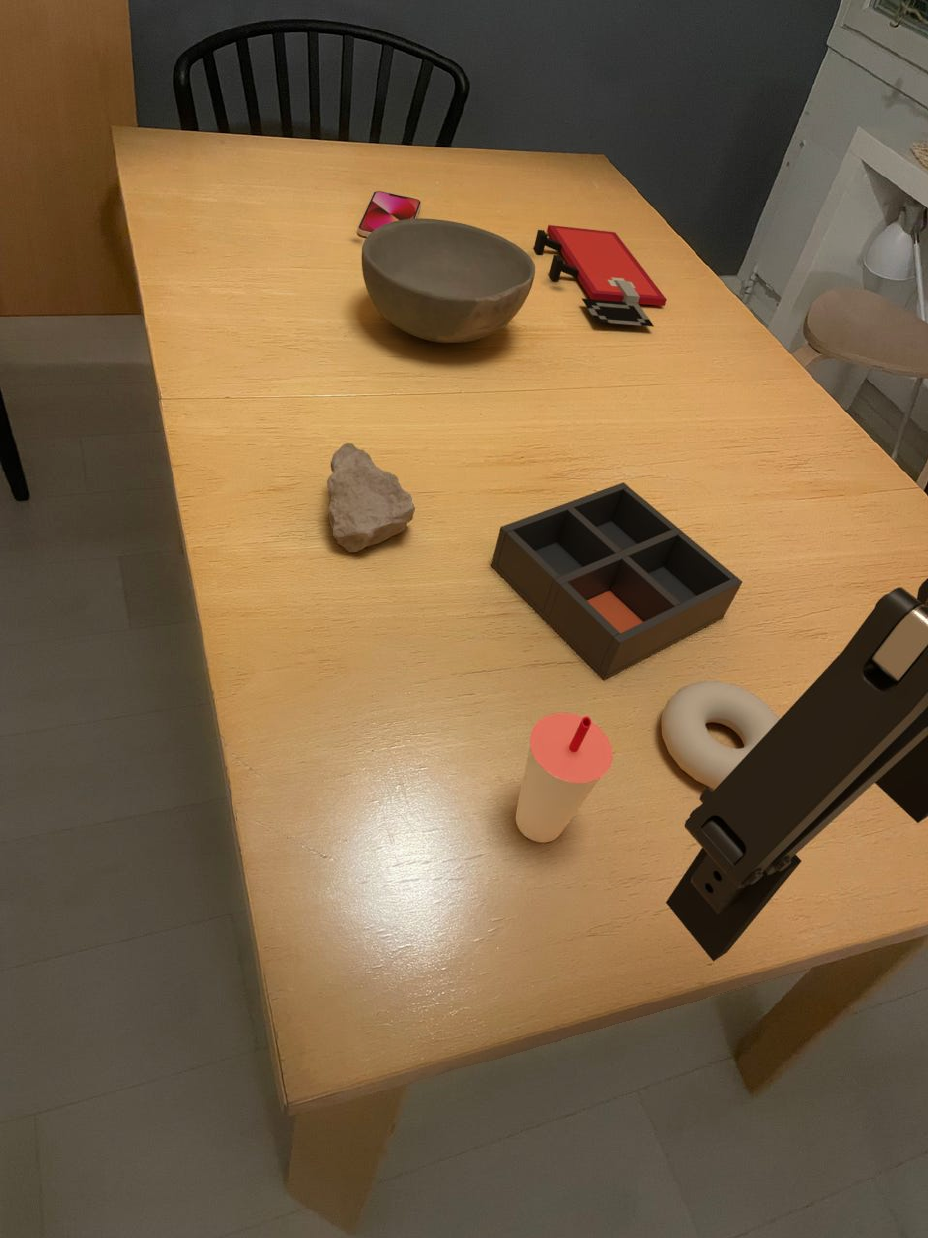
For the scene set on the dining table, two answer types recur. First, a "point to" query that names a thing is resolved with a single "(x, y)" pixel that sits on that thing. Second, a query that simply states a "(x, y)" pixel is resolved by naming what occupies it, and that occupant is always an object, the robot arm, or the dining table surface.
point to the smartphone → (387, 211)
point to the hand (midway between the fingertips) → (805, 857)
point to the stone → (365, 500)
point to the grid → (613, 577)
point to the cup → (560, 773)
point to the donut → (721, 706)
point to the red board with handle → (602, 273)
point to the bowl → (445, 278)
